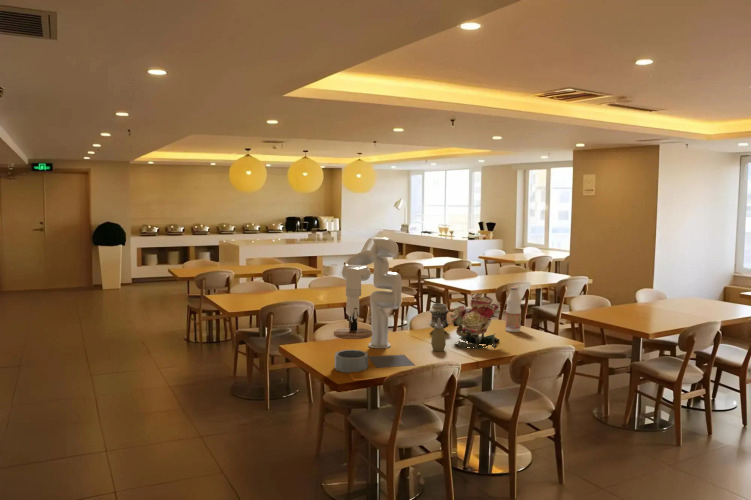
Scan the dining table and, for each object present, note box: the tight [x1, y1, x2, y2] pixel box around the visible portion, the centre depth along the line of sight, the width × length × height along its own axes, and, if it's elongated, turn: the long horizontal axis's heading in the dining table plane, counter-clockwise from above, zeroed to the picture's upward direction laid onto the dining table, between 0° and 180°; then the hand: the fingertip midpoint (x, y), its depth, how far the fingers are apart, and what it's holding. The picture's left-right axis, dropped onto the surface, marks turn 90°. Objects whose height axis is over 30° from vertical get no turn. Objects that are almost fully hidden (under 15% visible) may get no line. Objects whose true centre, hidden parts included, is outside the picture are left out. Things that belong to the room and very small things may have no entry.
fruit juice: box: [505, 286, 522, 333], centre depth 366 cm, size 9×9×28 cm
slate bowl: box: [334, 349, 369, 374], centre depth 282 cm, size 16×16×7 cm
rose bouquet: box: [450, 292, 501, 350], centre depth 330 cm, size 26×29×30 cm
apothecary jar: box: [429, 303, 450, 335], centre depth 359 cm, size 12×12×18 cm
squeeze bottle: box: [431, 318, 447, 352], centre depth 317 cm, size 8×8×18 cm
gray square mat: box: [368, 354, 416, 369], centre depth 293 cm, size 20×20×1 cm
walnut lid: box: [333, 320, 372, 340], centre depth 281 cm, size 19×19×7 cm
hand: (353, 329), depth 281 cm, fingers closed on walnut lid, 3 cm apart
